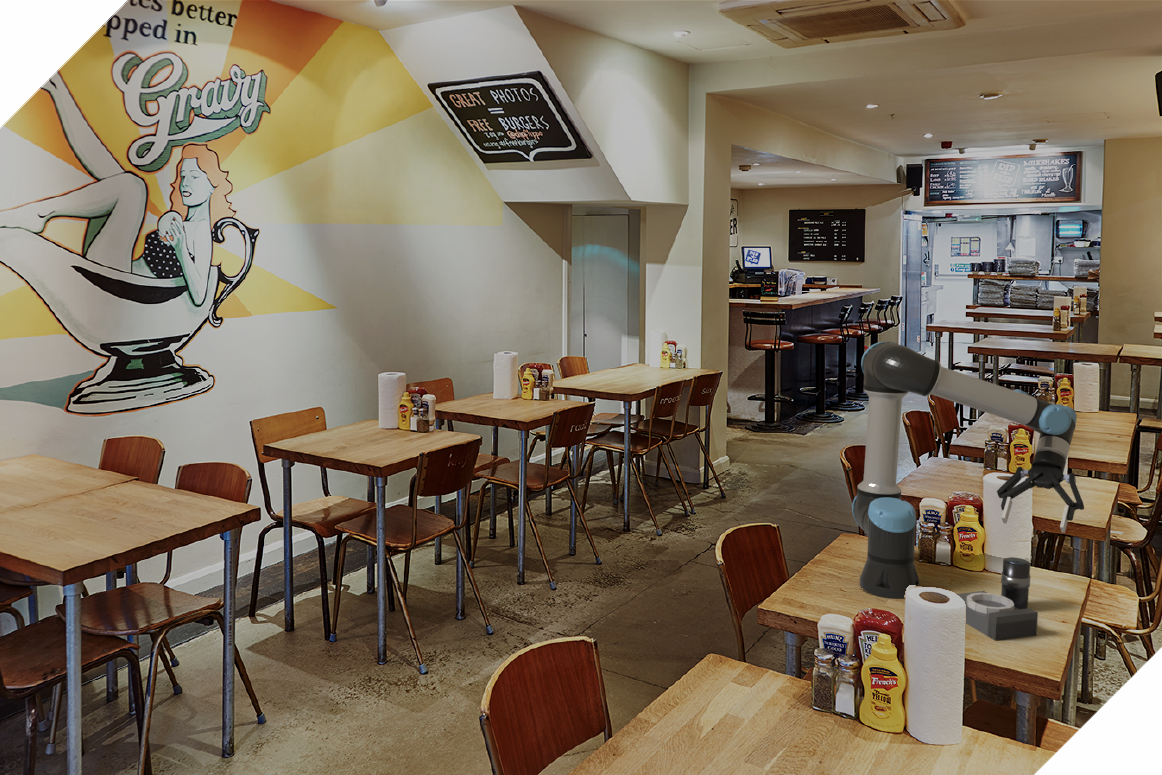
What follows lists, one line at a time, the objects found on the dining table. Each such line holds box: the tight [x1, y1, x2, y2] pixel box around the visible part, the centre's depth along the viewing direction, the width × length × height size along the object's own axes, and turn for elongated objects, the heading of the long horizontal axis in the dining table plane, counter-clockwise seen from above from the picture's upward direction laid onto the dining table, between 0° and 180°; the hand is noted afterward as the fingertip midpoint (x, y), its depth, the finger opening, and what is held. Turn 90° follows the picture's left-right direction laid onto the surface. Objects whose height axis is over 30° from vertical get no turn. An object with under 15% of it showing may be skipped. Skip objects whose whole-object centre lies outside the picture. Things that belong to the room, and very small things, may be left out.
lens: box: [1000, 556, 1031, 609], centre depth 212 cm, size 6×6×12 cm
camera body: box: [956, 590, 1039, 641], centre depth 204 cm, size 18×11×6 cm, turn 13°
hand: (1032, 525), depth 218 cm, fingers open, 13 cm apart
